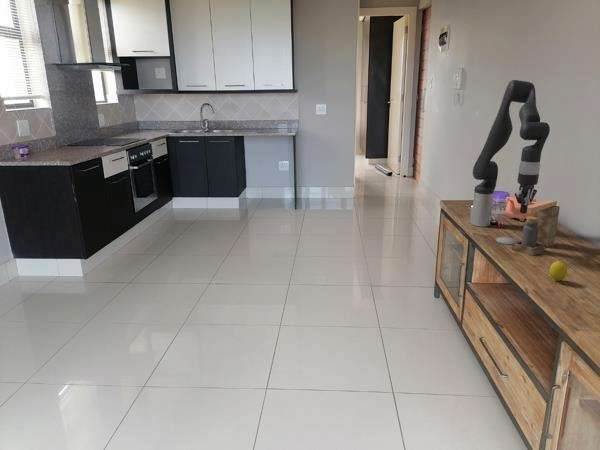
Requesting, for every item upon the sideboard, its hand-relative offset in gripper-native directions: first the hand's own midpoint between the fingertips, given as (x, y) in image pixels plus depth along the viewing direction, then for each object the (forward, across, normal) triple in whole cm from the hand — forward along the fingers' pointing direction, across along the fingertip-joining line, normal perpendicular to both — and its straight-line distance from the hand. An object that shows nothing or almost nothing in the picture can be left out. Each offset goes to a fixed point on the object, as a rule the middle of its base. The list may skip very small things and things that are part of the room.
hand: (523, 212), depth 185 cm
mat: (+18, -11, -12) cm, 25 cm away
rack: (+18, -13, 0) cm, 23 cm away
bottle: (+18, -8, 0) cm, 20 cm away
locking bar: (0, -13, 0) cm, 13 cm away
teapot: (+19, -51, -30) cm, 62 cm away
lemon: (+18, +15, +24) cm, 34 cm away
